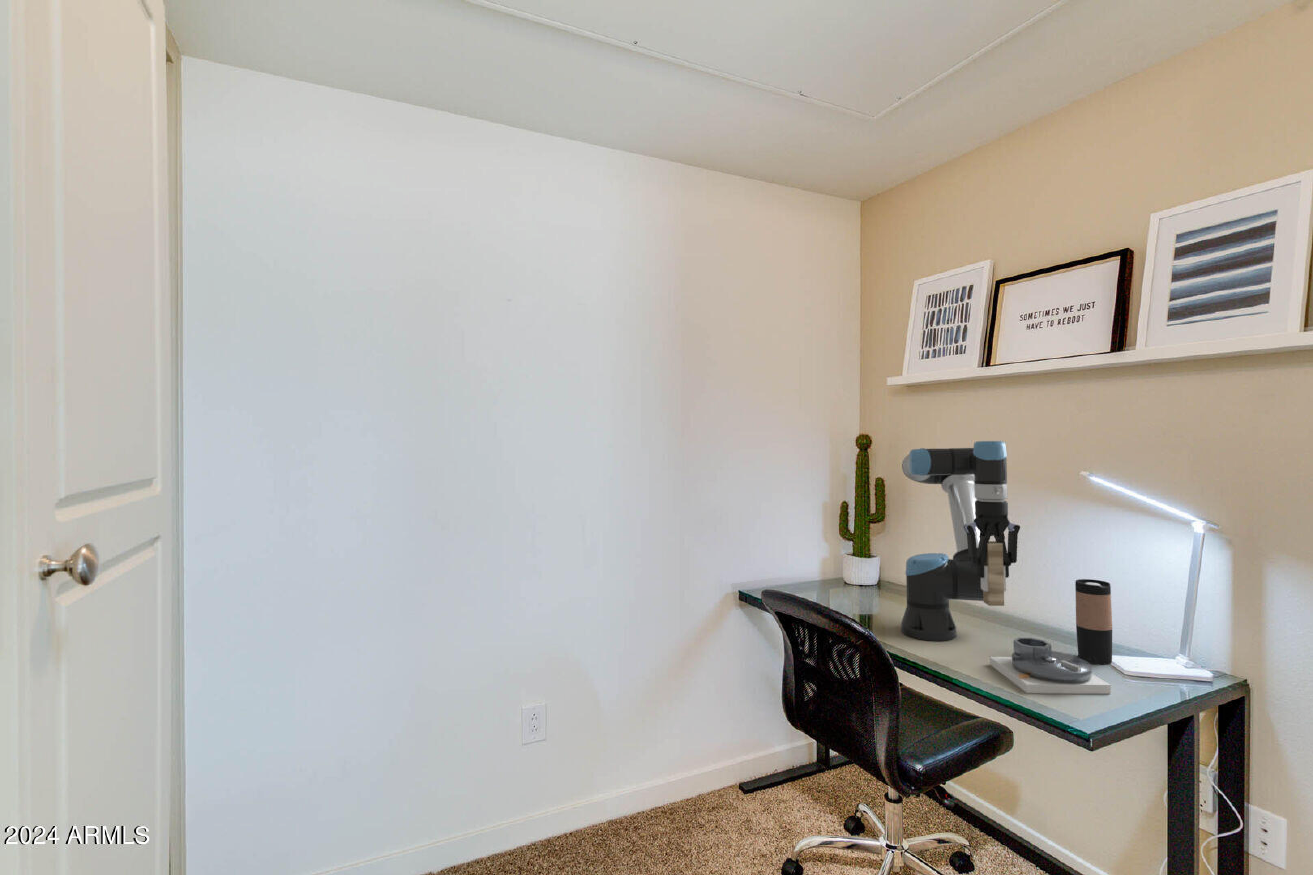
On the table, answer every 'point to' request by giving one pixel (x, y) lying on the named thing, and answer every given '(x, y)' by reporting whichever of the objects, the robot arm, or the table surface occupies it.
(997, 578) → the stick
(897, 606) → the table surface
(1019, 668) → the dial
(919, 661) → the table surface
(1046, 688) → the plate
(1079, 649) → the travel mug
